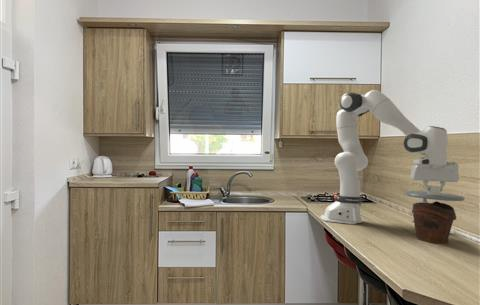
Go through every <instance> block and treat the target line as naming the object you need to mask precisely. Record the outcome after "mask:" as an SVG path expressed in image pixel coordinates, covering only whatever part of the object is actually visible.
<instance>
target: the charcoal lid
mask: <svg viewBox="0 0 480 305" xmlns="http://www.w3.org/2000/svg"><path fill="white" fill-rule="evenodd" d="M427 185H428V187H430V191H426V190H425V191H424V190H406V191H404V195H405V196H408V197H414V198H419V199H422V198H425V199H427V200H435V201H446V202H447V201H448V202H461V201H462V202H463V201H465V199H466V198H465V196H462V195H457V194H451V193H445V192H442V191H441V187H440V185H429V184H427Z"/></svg>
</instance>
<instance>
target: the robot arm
mask: <svg viewBox="0 0 480 305" xmlns="http://www.w3.org/2000/svg"><path fill="white" fill-rule="evenodd" d="M339 106H340V108H341V109H339V111H338V112H337V113H336V119H335V124H336V132H337V140H338V144H339V146H340V147H341V148H342V151H343V152H340V153H337V155H336V156H335V158H334V166H335V167H336V169H337V171H338V176H339V183H340V184H339V186H340V187H339V194H338V195H337V194H334V195H333V198H334V199H335V201H334V202H332V203H331V204H329V205H328V206H326V208H325V210H324V214H322V215H320V219H321V220H322V221H325V222H329V223H336V224H337V223H340V224H348V225H356V224H360V223H362V222H363V221H362V220H363V219H362V215H361V205H362V197H361V189H362V188H361V186H362V183H361V182H362V181H361V180H360V178H359V174H358V172H361V171H363V170H364V169H366V168H367V166H368V164H369V159H368V157H367V156H366V154H365V152H364V150H363V148H362V145H361V142H360V138H359V137H360V136H359V132H358V131H359V130H358V126H357V117H361V116H363V115H365V114H367V113H369V112H370V113H371V115H372V116H374V117H375V118H376V119H377V120H378V121H379V122H380V123H383V124H386V125H389V126H392V127H394V128H395V129H398V130H399V131H400V132H402V133H403V135H404V136H405V138H404V140H403V147H404V149H405V151H407V152H409V153H411V154H418V155H423V157H419V158H415V159H414V160H413V161H412V162H413V164H412V166H411V170H410V179H411V180H413V181H422V183H423V185H424V188H425V189H424V190H425V191H426V192H427V191H430V187H428V185H429V182H439V184H440V185H439V186H440V187H441V191H440V192H443V188H444V187H445V186H446V182H447V183H458V181H459V179H460V177H459V176H460V175H459V168H460V166H459V164H458V163H456V162H454V161H448V160H447V156H448V154H447V148H448V132H447V129H446V128H444V127H440V126H434V125H433V126H431V125H429V126H428V127H426V128H425V129H423V130H420V129H419V128H418V127H417V126H415V125H414V123H412V122H411V121H410V120H409V119H408V118H407V117H406V116H405V115H404V114H403V113H402V112H401V110H400V109H399V107H397V105H396V104H395V103H394V102H393V101H392V100H391V99H390V98H389V97H387V95H385V93H383V92H381V91H380V90H377V89H372V90H369V91H368V92H366V93H365V94H363V93H359V92H358V93H356V92H347V93H344V94H343V95H342V96H341V97H340V100H339Z"/></svg>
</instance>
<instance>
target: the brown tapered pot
mask: <svg viewBox="0 0 480 305" xmlns="http://www.w3.org/2000/svg"><path fill="white" fill-rule="evenodd" d="M411 209H412V210H411V213H412V216H413V221H412V223H414V231H415V236H416V239H417V240H420V241H423V242H427V243H433V244H445V243H448V242H449V237H450V233H451V230H452V226H453V223H454V221H456V220H457V215H456V210H455V209H454V207H453V206H452V205H450V204H448V203H444V202H439V201H438V200H435V201H434V202H429V203H419V202H414V203H413V204H412V208H411Z"/></svg>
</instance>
